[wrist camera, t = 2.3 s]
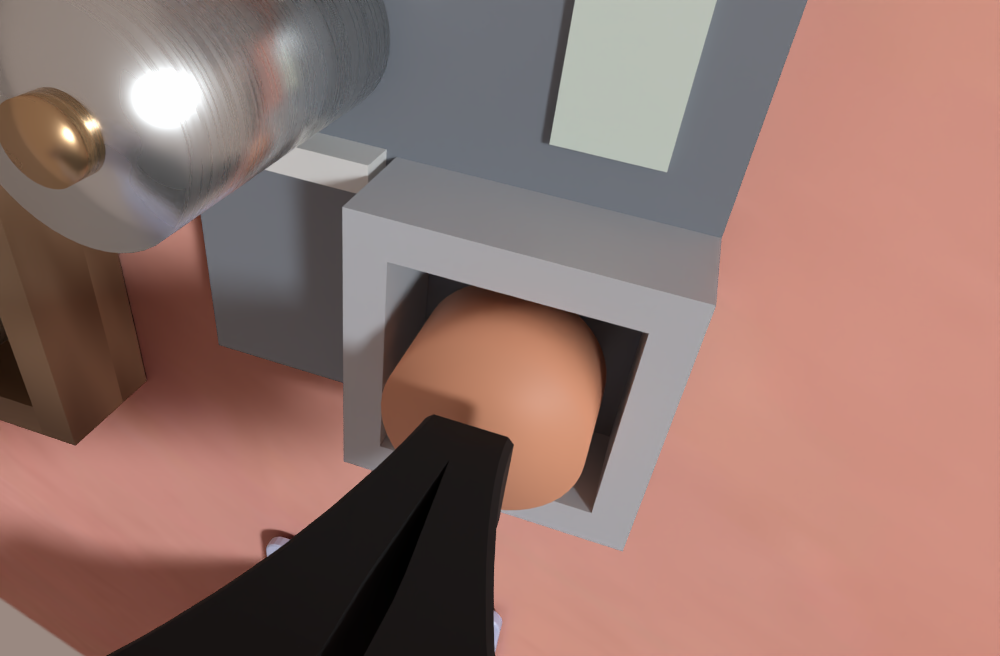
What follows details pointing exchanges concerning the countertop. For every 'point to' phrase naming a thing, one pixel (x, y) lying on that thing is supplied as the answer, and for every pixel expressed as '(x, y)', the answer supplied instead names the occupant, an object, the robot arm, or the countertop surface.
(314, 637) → the robot arm
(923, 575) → the countertop surface
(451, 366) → the button
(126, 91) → the cylinder
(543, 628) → the countertop surface
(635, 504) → the grey board with box
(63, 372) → the wooden divided tray
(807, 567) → the countertop surface
